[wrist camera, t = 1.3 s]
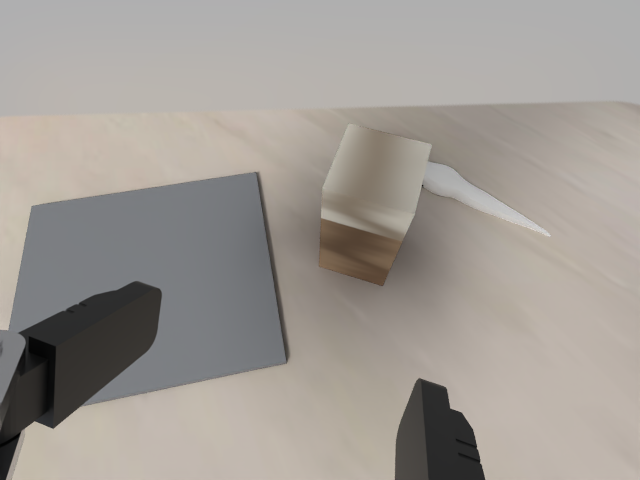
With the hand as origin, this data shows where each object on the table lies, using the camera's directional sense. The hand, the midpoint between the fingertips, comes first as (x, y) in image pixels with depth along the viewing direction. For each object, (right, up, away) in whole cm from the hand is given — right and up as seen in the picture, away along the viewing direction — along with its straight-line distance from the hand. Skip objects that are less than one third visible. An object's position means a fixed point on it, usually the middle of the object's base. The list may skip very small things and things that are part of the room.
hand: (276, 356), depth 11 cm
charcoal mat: (-11, +1, +17) cm, 20 cm away
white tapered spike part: (+14, +7, +22) cm, 26 cm away
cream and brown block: (+4, +3, +18) cm, 19 cm away
